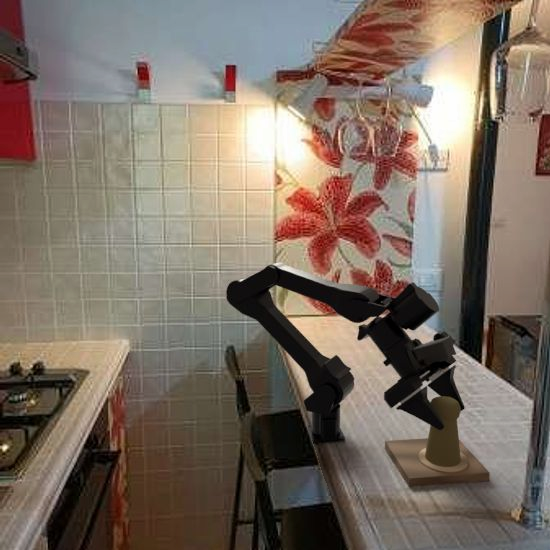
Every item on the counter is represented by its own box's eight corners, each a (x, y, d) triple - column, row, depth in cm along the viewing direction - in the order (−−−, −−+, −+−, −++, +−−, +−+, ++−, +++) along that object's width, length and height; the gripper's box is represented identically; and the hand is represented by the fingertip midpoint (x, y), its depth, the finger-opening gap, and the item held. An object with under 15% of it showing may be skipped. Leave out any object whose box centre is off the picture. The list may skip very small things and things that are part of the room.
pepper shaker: (453, 449, 98) (456, 391, 96) (466, 466, 92) (469, 405, 90) (420, 449, 98) (422, 392, 96) (430, 467, 92) (433, 406, 90)
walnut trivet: (384, 448, 102) (385, 439, 102) (455, 443, 104) (456, 434, 103) (408, 486, 90) (409, 476, 89) (489, 480, 91) (489, 470, 91)
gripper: (403, 332, 86) (468, 415, 81) (447, 309, 100) (506, 379, 95) (359, 369, 92) (417, 448, 87) (407, 342, 106) (459, 409, 102)
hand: (453, 419), depth 93 cm, fingers open, 9 cm apart
